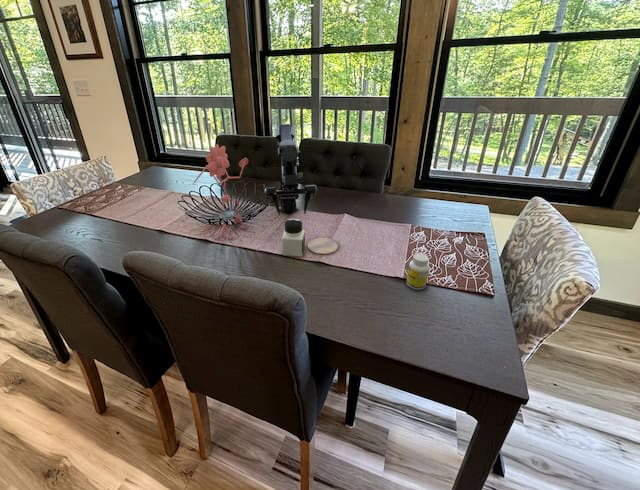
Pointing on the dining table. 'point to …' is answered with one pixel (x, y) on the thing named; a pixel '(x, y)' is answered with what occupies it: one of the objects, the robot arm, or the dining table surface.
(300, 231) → the medicine bottle
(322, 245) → the coaster
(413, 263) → the supplement bottle
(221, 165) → the figurine
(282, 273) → the dining table surface
